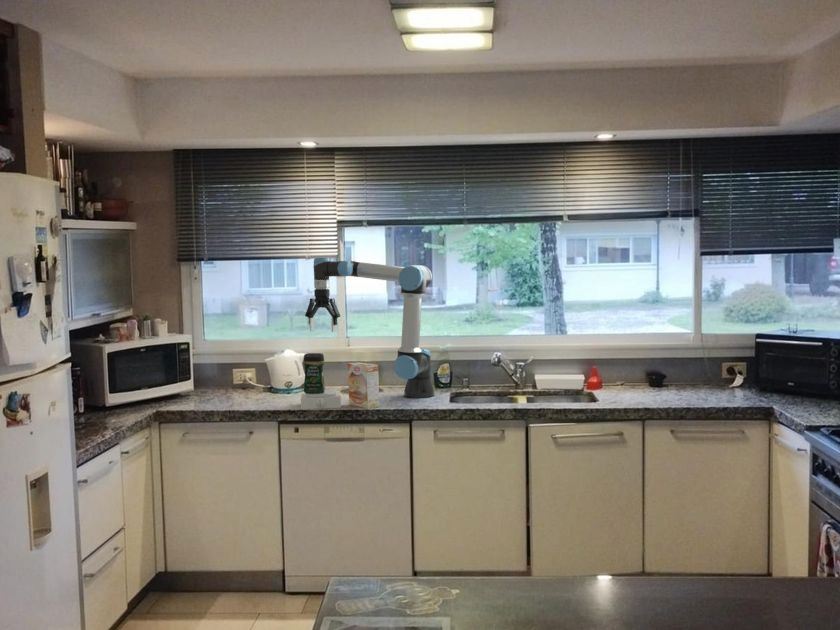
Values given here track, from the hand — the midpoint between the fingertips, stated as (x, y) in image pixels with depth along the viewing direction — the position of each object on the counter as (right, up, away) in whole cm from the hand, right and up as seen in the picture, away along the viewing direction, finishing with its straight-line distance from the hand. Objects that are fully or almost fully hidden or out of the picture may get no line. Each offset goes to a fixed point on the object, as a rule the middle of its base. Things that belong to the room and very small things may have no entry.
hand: (323, 331), depth 380 cm
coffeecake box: (+22, -34, -26) cm, 48 cm away
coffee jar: (-1, -28, -25) cm, 38 cm away
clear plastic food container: (+2, -34, -25) cm, 42 cm away
